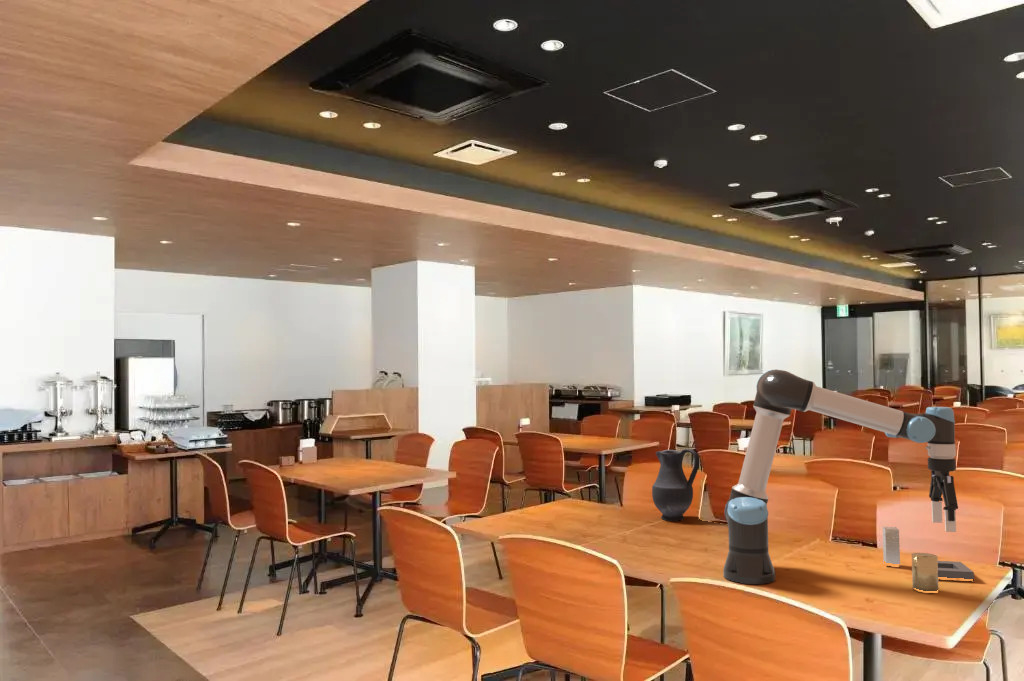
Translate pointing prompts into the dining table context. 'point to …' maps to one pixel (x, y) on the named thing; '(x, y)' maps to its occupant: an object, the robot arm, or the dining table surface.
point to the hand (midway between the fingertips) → (943, 527)
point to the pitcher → (673, 484)
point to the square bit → (891, 545)
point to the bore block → (954, 570)
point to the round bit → (925, 571)
